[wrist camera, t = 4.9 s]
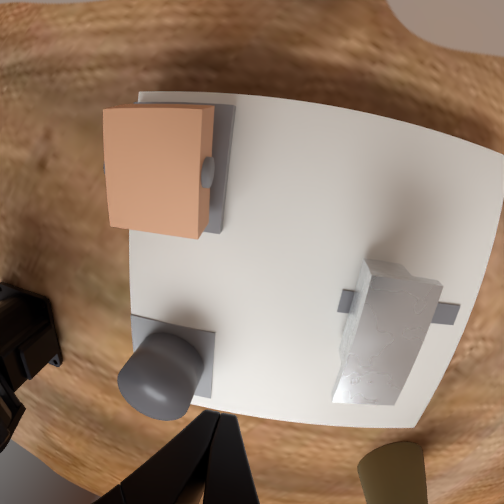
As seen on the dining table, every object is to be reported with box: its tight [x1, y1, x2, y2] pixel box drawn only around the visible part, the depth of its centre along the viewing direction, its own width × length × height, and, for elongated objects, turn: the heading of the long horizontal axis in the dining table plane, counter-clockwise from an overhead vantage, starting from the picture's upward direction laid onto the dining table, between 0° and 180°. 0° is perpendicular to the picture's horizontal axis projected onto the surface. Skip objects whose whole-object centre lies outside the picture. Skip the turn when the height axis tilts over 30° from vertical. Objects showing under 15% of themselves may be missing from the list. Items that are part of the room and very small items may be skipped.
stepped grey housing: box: [331, 258, 443, 406], centre depth 13 cm, size 3×6×4 cm, turn 173°
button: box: [117, 333, 203, 421], centre depth 16 cm, size 4×4×3 cm
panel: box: [129, 91, 504, 428], centre depth 16 cm, size 19×18×3 cm
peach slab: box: [103, 104, 215, 240], centre depth 12 cm, size 4×5×2 cm
